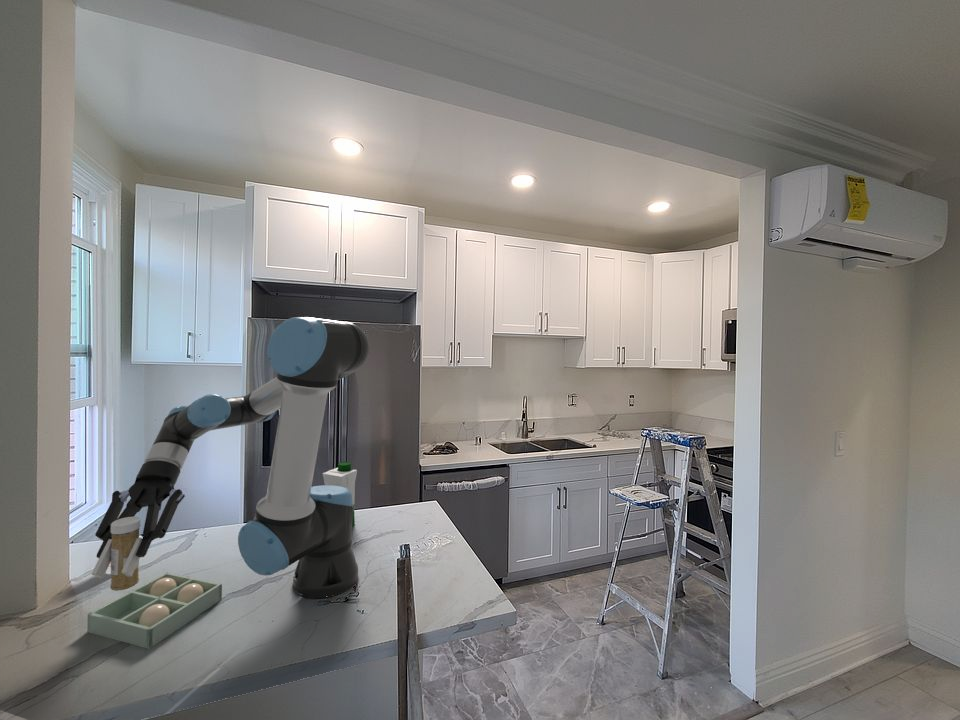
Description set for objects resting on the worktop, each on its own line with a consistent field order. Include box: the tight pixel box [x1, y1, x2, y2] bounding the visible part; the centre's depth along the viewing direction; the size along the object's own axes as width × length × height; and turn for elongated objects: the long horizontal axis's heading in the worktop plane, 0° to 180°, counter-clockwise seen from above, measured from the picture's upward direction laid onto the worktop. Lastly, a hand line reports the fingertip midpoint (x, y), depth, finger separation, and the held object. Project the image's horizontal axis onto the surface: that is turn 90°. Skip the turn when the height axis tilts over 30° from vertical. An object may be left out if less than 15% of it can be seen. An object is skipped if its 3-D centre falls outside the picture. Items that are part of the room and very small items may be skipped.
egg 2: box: [139, 604, 170, 627], centre depth 81 cm, size 5×5×5 cm
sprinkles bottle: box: [109, 516, 141, 592], centre depth 83 cm, size 5×5×13 cm
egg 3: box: [177, 583, 204, 603], centre depth 88 cm, size 5×5×5 cm
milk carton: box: [322, 461, 358, 526], centre depth 131 cm, size 9×9×20 cm
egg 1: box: [149, 578, 177, 597], centre depth 90 cm, size 5×5×5 cm
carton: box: [86, 572, 223, 649], centre depth 86 cm, size 16×16×4 cm
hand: (112, 574), depth 79 cm, fingers closed on sprinkles bottle, 4 cm apart
